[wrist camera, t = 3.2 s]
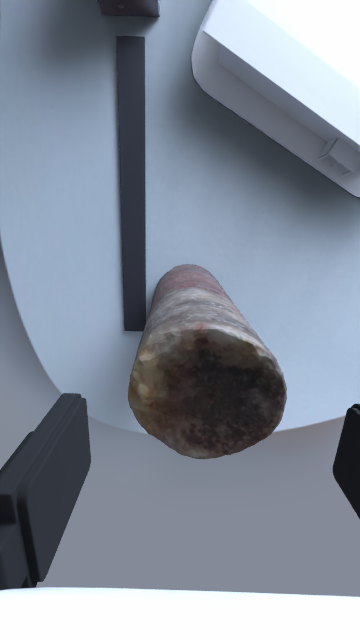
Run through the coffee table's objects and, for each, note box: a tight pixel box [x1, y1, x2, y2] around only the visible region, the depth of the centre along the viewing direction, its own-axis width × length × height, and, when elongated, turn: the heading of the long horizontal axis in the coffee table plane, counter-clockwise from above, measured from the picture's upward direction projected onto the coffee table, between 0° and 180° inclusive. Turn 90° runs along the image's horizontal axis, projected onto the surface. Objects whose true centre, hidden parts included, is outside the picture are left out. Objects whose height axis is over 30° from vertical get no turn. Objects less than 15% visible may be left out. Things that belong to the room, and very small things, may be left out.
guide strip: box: [117, 36, 146, 331], centre depth 28 cm, size 2×27×1 cm, turn 178°
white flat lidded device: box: [191, 0, 360, 197], centre depth 23 cm, size 15×23×4 cm, turn 60°
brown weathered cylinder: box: [128, 265, 287, 459], centre depth 21 cm, size 8×7×20 cm
